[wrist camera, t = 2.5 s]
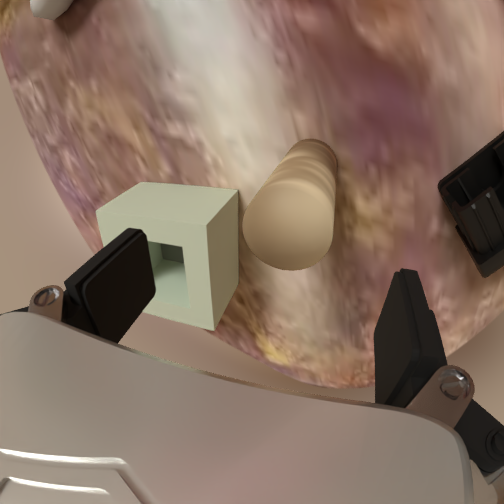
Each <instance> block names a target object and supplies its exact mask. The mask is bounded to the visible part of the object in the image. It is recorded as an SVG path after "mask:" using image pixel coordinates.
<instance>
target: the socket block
mask: <svg viewBox="0 0 504 504" xmlns="http://www.w3.org/2000/svg"><path fill="white" fill-rule="evenodd" d="M96 216H97V220H98V225H99V229H100V234H101V238H102V242H103V246H104V247H105V246H106V245H107V244H108V243H110V242H111V241H112V240H113V239H115V238H116V237H117V236H118V235H120V234H121V233H122V232H123V231H125V230H126V229H127V228H136V229H141V230H143V232H144V233H145V234H146V235H147V240H148V246H149V252H150V258H151V264H152V270H153V275H154V280H155V286H156V293H155V296H154V297H153V299H152V300H151V301H150V302H149V304H148V305H147V306H146V307H145V309H144V310H143V311H142V312H145V313H148V314H152V315H155V316H159V317H162V318H166V319H170V320H173V321H177V322H181V323H184V324H188V325H193V326H196V327H200V328H204V329H208V330H212V331H215V329H216V327H217V325H218V323H219V321H220V319H221V317H222V315H223V313H224V311H225V309H226V307H227V305H228V303H229V301H230V299H231V297H232V296H233V294H234V292H235V290H236V288H237V286H238V284H239V256H238V190H235V189H225V188H215V187H204V186H192V185H180V184H166V183H151V182H140V183H139V184H137V185H135V186H134V187H132V188H131V189H129V190H127V191H126V192H124V193H123V194H121V195H119V196H118V197H116V198H115V199H113V200H112V201H110V202H109V203H107V204H105V205H104V206H102V207H101V208H99V209H98V210H96Z"/></svg>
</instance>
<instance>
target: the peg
mask: <svg viewBox="0 0 504 504" xmlns="http://www.w3.org/2000/svg"><path fill="white" fill-rule="evenodd" d="M336 175H337V160H336V156H335V154H334V152H333V150H332V149H331V148H330V147H329V146H328V145H327V144H326V143H324V142H322V141H320V140H316V139H305V140H302V141H299V142H297V143H296V144H295V145H294V146H293V147H292V148H291V149H290V150H289V152H288V153H287V154H286V156H285V157H284V158H283V160H282V161H281V162H280V164H279V165H278V166H277V168H276V169H275V170H274V172H273V173H272V174H271V176H270V177H269V178H268V180H267V181H266V182H265V184H264V185H263V186H262V188H261V189H260V190H259V192H258V193H257V194H256V196H255V197H254V199H253V200H252V201H251V203H250V204H249V205H248V207H247V209H246V211H245V213H244V217H243V223H242V229H243V235H244V238H245V241H246V243H247V245H248V247H249V248H250V250H251V251H252V252H253V253H254V255H255V256H256V257H258V258H259V259H260V260H261V261H263V262H264V263H266V264H268V265H270V266H272V267H275V268H278V269H282V270H301V269H305V268H308V267H311V266H313V265H314V264H316V263H317V262H319V261H320V260H321V259H322V258H323V257H324V256H325V255H326V254H327V252H328V250H329V248H330V246H331V243H332V238H333V226H334V212H335V196H336Z"/></svg>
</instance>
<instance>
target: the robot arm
mask: <svg viewBox="0 0 504 504" xmlns="http://www.w3.org/2000/svg"><path fill="white" fill-rule="evenodd" d="M64 284H65V286H66V290H65V291H64V292H63V290H62V288H61V287H59V286H56V285H51V286H46V287H43V288H41V289H40V290H38V291H37V292H36V293H34V295H33V296H32V298H31V300H30V304H29V306H28V307H25V308H21V309H18V310H14V311H11V312H7V313H4V314H1V315H0V504H504V426H503V425H502V424H501V423H500V422H499V421H497V420H496V419H495V418H494V417H493V416H492V415H491V414H489V413H488V412H487V411H486V410H485V409H484V408H482V407H481V406H480V405H479V404H478V403H477V402H475V401H474V400H473V399H472V398H473V395H474V383H473V380H472V378H471V377H470V375H469V374H468V373H467V372H466V371H465V370H463V369H461V368H460V367H457V366H453V365H447V360H446V356H445V352H444V348H443V344H442V340H441V336H440V333H439V329H438V325H437V322H436V318H435V315H434V312H433V311H432V310H429V307H428V304H427V300H426V297H425V294H424V291H423V288H422V284H421V281H420V278H419V275H418V272H417V271H416V270H409V269H403V268H402V269H401V270H400V272H395V273H394V276H393V279H392V282H391V285H390V288H389V291H388V294H387V297H386V300H385V303H384V306H383V308H382V311H381V314H380V317H379V320H378V322H377V325H376V328H375V331H374V354H375V403H370V402H363V401H355V400H347V399H340V398H334V397H327V396H321V395H315V394H308V393H303V392H297V391H292V390H286V389H281V388H276V387H271V386H266V385H261V384H256V383H252V382H247V381H243V380H239V379H234V378H230V377H226V376H222V375H218V374H214V373H210V372H207V371H203V370H199V369H195V368H192V367H188V366H185V365H182V364H178V363H175V362H172V361H168V360H165V359H162V358H159V357H156V356H152V355H149V354H146V353H143V352H140V351H137V350H134V349H131V348H129V347H126V346H123V345H120V344H118V342H119V341H120V340H121V338H122V337H123V336H124V335H125V333H126V332H127V330H128V329H129V328H130V327H131V325H132V324H133V323H134V322H135V320H136V319H137V318H138V316H139V315H140V314H141V313H142V311H143V310H144V309H145V307H146V306H147V305H148V304H149V302H150V301H151V300H152V299H153V297H154V296H155V293H156V286H155V280H154V275H153V270H152V264H151V258H150V252H149V246H148V240H147V235H146V234H145V233H144V232H143V230H141V229H136V228H127V229H126V230H125V231H123V232H122V233H121V234H120V235H118V236H117V237H116V238H115V239H113V240H112V241H111V242H110V243H108V244H107V245H106V246H105V247H104V248H102V249H101V250H100V251H99V252H98V253H96V254H95V255H94V256H93V257H92V258H91V259H90V260H88V261H87V262H86V263H85V264H84V265H82V266H81V267H80V268H79V269H78V270H77V271H76V272H75V273H73V274H72V275H71V276H70V277H69V278H68V279H67V280H66V281H64Z"/></svg>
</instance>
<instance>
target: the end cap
mask: <svg viewBox="0 0 504 504" xmlns="http://www.w3.org/2000/svg"><path fill="white" fill-rule="evenodd" d="M438 189H439V191H440V193H441V194H442V196H443V200H444V201H445V203H446V205H447V206H448V208H449V210H450V212H451V213H452V215H453V217H454V219H455V221H456V222H457V224H458V225H456V227H455V228H456V230H457V232H458V234H459V235H460V237H461V239H462V241H463V243H464V245H465V246H466V248H467V250H468V252H469V254H470V256H471V258H472V259H473V261H474V263H475V265H476V267H477V269H478V270H479V272H480V274H481V275H482V277H484V278H486V277H488V276H489V275H491V274H492V273H494V272H495V271H497V270H498V269H500V268H501V267H502V266H504V131H503V132H502V133H501V134H499V135H498V136H497V137H496V138H494V139H493V140H492V141H491V142H489V143H488V144H487V145H486V146H484V147H483V148H482V149H481V150H479V151H478V152H477V153H476V154H474V155H473V156H472V157H470V158H469V159H468V160H467V161H465V162H464V163H463V164H461V165H460V166H459V167H457V168H456V169H455V170H453V171H452V172H451V173H449V174H448V175H447V176H446V177H444V178H443V179H442V180H440V181H439V183H438Z"/></svg>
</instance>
